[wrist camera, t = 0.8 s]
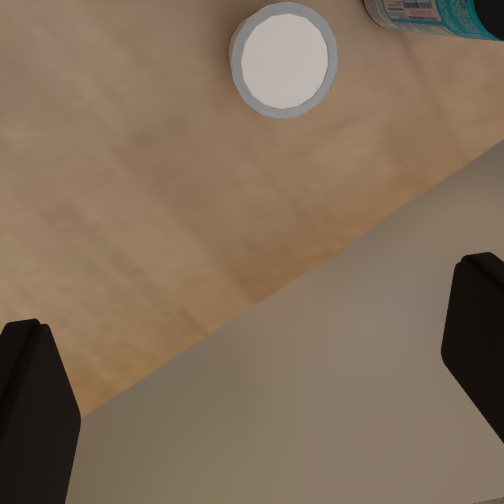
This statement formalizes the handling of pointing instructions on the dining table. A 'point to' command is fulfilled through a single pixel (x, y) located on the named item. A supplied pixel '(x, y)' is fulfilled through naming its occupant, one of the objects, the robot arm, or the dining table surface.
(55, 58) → the dining table surface
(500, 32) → the beverage can
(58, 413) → the robot arm
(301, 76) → the white cup
